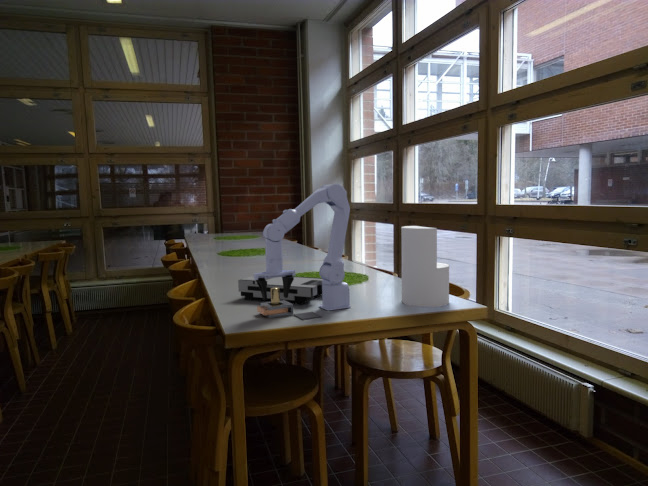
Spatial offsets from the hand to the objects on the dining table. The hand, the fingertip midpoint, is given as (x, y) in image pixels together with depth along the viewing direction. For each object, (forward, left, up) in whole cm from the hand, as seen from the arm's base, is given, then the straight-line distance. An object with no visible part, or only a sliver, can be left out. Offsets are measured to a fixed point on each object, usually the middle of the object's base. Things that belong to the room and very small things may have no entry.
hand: (275, 298), depth 157 cm
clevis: (0, 0, -5) cm, 5 cm away
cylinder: (-55, +12, -6) cm, 57 cm away
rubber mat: (-8, +8, -5) cm, 13 cm away
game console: (-14, -23, -6) cm, 28 cm away
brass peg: (0, 0, -5) cm, 5 cm away
